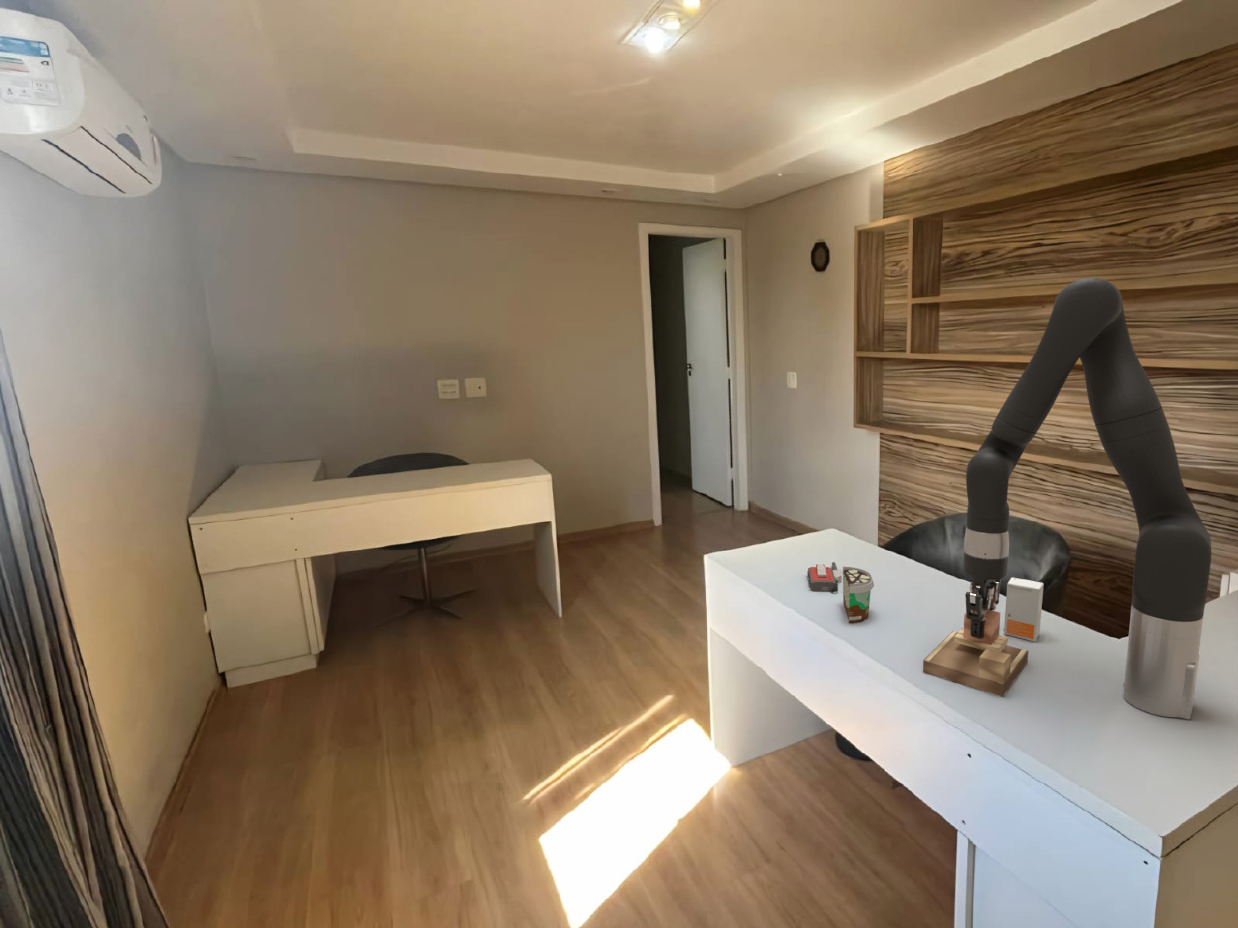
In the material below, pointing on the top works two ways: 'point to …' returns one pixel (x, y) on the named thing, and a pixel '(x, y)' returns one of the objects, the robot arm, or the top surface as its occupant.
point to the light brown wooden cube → (994, 665)
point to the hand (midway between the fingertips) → (981, 631)
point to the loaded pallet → (980, 645)
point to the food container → (856, 593)
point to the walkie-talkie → (824, 578)
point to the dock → (970, 665)
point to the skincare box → (1023, 609)
